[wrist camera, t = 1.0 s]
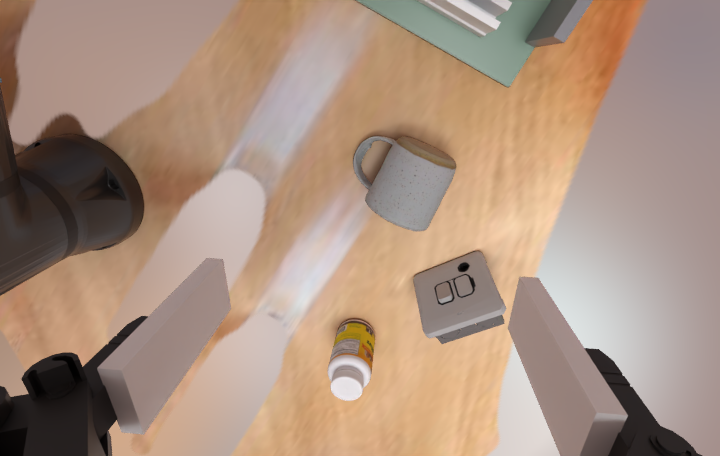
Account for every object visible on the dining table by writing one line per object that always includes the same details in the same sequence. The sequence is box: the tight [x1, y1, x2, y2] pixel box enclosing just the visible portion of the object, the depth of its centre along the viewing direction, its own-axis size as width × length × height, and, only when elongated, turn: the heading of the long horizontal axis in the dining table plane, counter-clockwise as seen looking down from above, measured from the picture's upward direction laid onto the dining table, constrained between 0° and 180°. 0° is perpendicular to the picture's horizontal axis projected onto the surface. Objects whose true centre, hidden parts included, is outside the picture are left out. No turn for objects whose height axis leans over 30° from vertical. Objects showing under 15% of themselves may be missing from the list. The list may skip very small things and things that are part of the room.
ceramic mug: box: [353, 136, 456, 231], centre depth 39 cm, size 11×8×8 cm
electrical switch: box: [413, 251, 506, 344], centre depth 43 cm, size 9×5×9 cm, turn 119°
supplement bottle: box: [328, 319, 375, 401], centre depth 48 cm, size 6×6×10 cm
